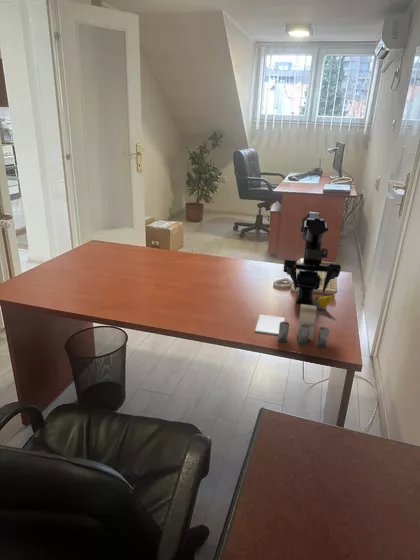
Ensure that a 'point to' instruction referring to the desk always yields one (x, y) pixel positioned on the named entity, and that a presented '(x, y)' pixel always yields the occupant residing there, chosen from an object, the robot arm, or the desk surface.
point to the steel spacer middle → (303, 334)
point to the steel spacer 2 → (323, 337)
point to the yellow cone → (323, 301)
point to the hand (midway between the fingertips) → (309, 290)
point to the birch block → (307, 318)
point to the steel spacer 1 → (283, 331)
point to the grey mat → (269, 324)
